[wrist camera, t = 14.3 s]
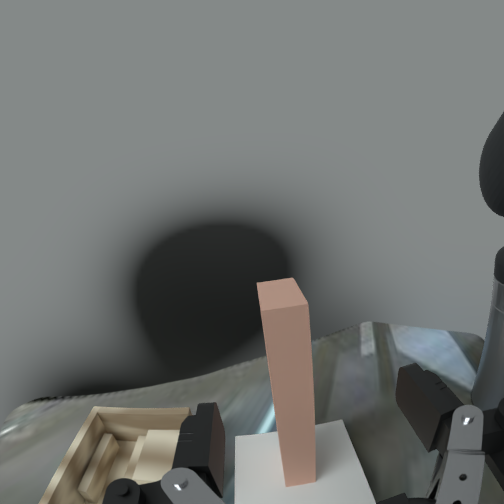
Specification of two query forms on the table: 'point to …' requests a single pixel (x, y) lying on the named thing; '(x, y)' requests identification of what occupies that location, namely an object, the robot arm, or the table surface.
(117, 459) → the rack
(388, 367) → the table surface
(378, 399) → the table surface
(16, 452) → the table surface
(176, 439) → the offcut stack
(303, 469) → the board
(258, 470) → the mat
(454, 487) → the robot arm
